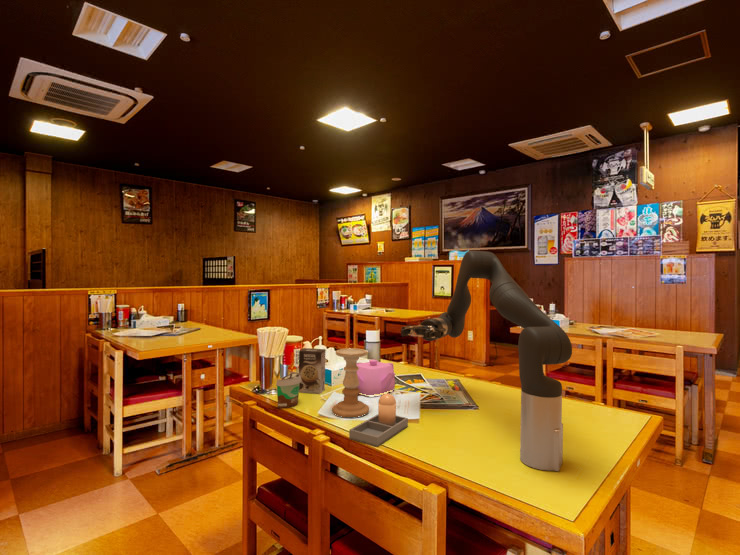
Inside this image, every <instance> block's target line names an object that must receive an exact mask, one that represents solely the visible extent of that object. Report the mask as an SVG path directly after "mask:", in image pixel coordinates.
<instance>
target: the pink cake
mask: <svg viewBox="0 0 740 555" xmlns="http://www.w3.org/2000/svg"><path fill="white" fill-rule="evenodd" d="M356 365H357V367H358V368H359V370H358V371H357V376H358V380H359V386H358V387H357V388H358V389H359V390H360V393H362V394H366V395H374V394H380V393H384V392H387V391H390V390H393V389H394V390H395V386H396V385H395V384H396V382H395V381H396V380H395V376H396V373H395V370H394V363H392V362H381V361H379V360H377V359H373V358H372V359H370V360H369V361H367V362H357V363H356Z"/></svg>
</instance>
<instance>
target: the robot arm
mask: <svg viewBox="0 0 740 555" xmlns="http://www.w3.org/2000/svg"><path fill="white" fill-rule="evenodd" d="M460 262H461V263H460V267H459V271H458V274H457V278H456V279H457V280H456V284H455V288H454V292H453V295H452V297H451V299H450V302H449V304H448V307H446V308H447V309H446V311H444V312H443V313H440V315H439V316H438V317H433V318H428V319H424V320H423V321H422V322H421V323H420V324H418V325H406V326H402V327H401V330H400V335H401V337H407V336H410V337H420V338H422V339H423V340H425V341H427V342H433V341H437V340H439V339H441V338H444V337H446V336H449V337H451V338H458V337H460V336H461V335H462V334H463V332H464V329H465V322H466V315H467V313H468V310H469V309H470V307H471V304H472V294H471V292H470V289H469V286H468V284H469V281H470V280H471V279H481V280H482V279H483V280H484V279H485V280H488V281H489V282H490V283H491V286H490V287H489V300H490V302H491V304H492V305H493V306H494V308H495V309H496V311H497V312H498V313H499V314H500V316H502V317H503V318H504V319H506V320H508V321H510V322H511V323H513V324H514V325H517V326H519V327H521V328H523V329H522V330H521V332H520V334H519V337H518V347H517V348H518V374H519V375H518V376H519V380H520V385H521V386H520V394H521V395H520V435H519V436H520V439H519V440H520V441H519V442H520V446H519V447H520V449H519V457H520V458H519V459H520V461H521V462H522V464H524V465H526V466H528V467H530V468H533V469H535V470H536V469H537V470H541V471H555V472H560V469H561V466H562V464H563V452H564V450H563V449H564V448H563V447H564V439H563V438H564V423H562V418H563V417H562V412H563V410H562V409H563V408H562V407H563V385H562V382H560V381H559V380H558V379H555V378H554V377H551V376H546V375H545V373H544V365H545V366H546V365H561V364H565V363H567V362H568V361H569V360H570V359H571V357H572V354H573V347H572V346H573V344H572V341H571V339H570V337H569V335H568V334H567V332H566V331H565V330H564V329H563V328H562V327H561V326H560V325H559V324H557V322H555V321H554V320H553V319H552V318H550V317H549V316H548V315H547V314H546V313H544V311H542V309H541V308H540V307H539V306H538V305H537V304H536V303H535V302H534V301H533V300H532V299H531V298H530V296H528V294H527V293H526V292H525V290H523V288H522V287H521V286H520V285H519V284H518V283H517V282H516V280H514V279H513V277H512V276H511V275H510V274H509V272H508V271H507V270H506V269H505V267H504V266H503V263H502V262H501V261H500V259H499V258H498V257H497V255H496V254H495V253H493V252H491V251H485V250H468V251H466V252H465V253H464V255H463V258H462V259H461V261H460Z"/></svg>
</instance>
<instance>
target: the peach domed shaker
mask: <svg viewBox="0 0 740 555" xmlns="http://www.w3.org/2000/svg"><path fill="white" fill-rule="evenodd" d="M396 400H397V399H396V398H395V397H394V395H393V394H391V393H387V394H383V395H382V396H379V399H378V404H377V405H378V409H377V410H378V412H377V414H378V423H381V424H384V425H388V426H394V425H396V416H397V401H396Z"/></svg>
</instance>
